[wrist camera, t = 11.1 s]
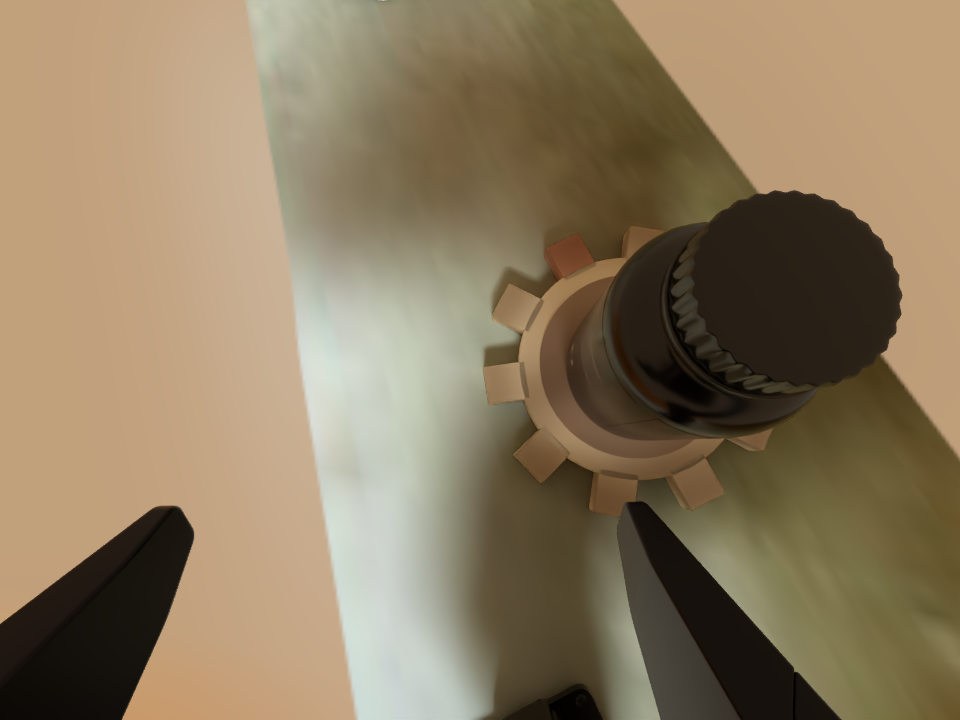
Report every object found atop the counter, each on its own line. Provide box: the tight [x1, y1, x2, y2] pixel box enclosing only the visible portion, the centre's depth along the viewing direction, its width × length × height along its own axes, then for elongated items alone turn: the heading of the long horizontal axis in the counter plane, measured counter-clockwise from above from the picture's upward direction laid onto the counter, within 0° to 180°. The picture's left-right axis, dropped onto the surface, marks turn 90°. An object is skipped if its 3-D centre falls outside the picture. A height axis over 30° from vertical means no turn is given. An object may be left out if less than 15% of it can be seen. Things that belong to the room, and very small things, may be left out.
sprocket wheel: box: [483, 226, 773, 517], centre depth 23 cm, size 14×14×1 cm
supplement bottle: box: [566, 190, 902, 441], centre depth 16 cm, size 7×7×12 cm
